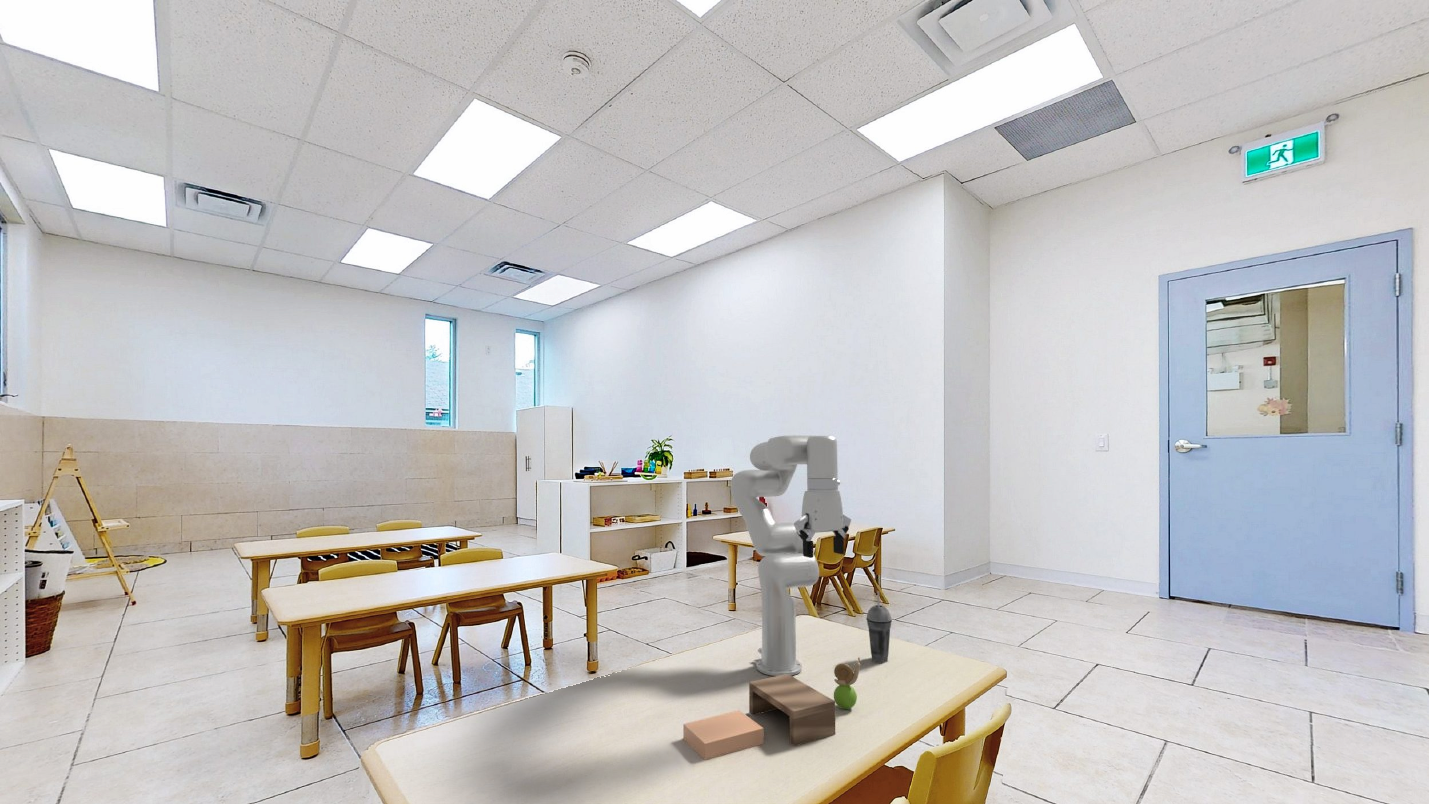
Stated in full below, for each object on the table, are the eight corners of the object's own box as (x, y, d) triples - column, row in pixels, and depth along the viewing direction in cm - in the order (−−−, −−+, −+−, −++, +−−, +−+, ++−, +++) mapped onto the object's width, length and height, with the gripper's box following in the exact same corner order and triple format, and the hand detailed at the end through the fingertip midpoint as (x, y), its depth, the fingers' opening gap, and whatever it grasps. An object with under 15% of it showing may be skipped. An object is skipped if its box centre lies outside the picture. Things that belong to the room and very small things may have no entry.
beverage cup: (893, 657, 181) (892, 588, 183) (892, 665, 174) (890, 594, 176) (868, 654, 184) (867, 586, 185) (865, 662, 177) (864, 592, 178)
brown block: (749, 712, 144) (749, 682, 145) (787, 703, 149) (787, 673, 150) (794, 746, 128) (793, 711, 129) (835, 734, 133) (835, 701, 134)
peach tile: (683, 740, 131) (683, 723, 132) (739, 726, 138) (739, 710, 138) (705, 761, 123) (705, 743, 123) (763, 745, 129) (763, 728, 130)
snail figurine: (861, 714, 143) (860, 661, 144) (833, 711, 144) (833, 659, 145) (860, 704, 149) (860, 654, 149) (833, 702, 150) (833, 652, 151)
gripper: (838, 483, 160) (840, 550, 159) (785, 485, 151) (786, 556, 150) (859, 485, 154) (860, 554, 152) (804, 487, 145) (805, 560, 144)
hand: (823, 555), depth 151 cm, fingers open, 9 cm apart
